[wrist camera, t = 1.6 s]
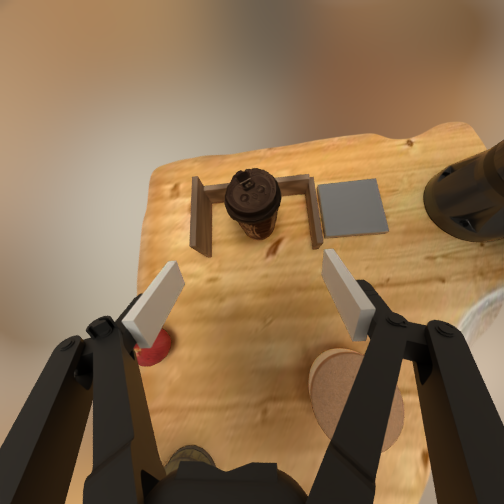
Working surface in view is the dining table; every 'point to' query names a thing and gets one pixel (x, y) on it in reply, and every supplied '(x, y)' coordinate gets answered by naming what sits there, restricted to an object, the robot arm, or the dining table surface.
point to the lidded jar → (344, 392)
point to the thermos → (188, 457)
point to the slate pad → (351, 209)
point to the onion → (154, 350)
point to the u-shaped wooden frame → (216, 194)
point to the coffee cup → (253, 201)
